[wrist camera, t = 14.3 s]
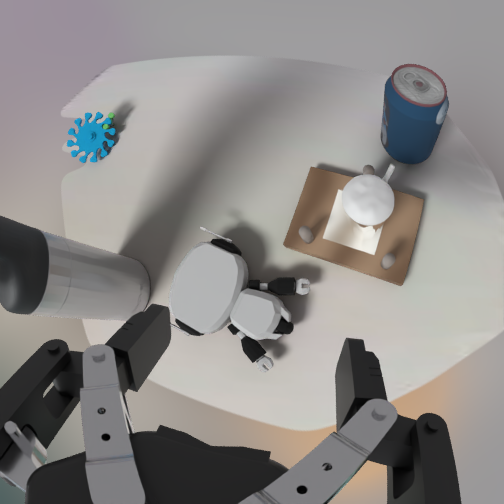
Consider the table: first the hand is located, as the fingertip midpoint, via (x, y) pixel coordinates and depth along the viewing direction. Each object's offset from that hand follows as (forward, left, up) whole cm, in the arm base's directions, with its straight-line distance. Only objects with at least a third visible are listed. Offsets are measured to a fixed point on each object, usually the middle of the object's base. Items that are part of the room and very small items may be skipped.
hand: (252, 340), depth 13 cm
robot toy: (-9, -1, -21) cm, 23 cm away
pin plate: (+1, +12, -21) cm, 24 cm away
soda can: (+5, +25, -21) cm, 33 cm away
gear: (-46, +16, -21) cm, 53 cm away
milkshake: (+2, +12, -19) cm, 23 cm away
